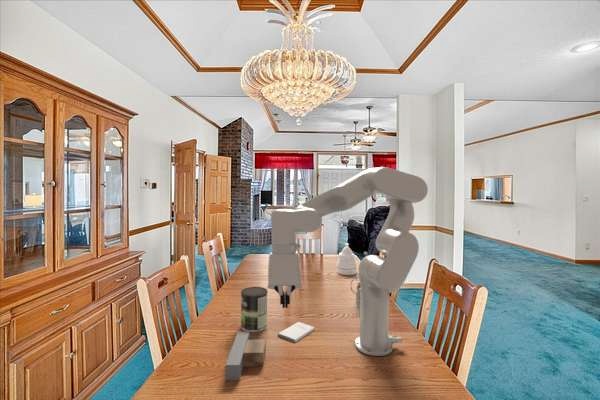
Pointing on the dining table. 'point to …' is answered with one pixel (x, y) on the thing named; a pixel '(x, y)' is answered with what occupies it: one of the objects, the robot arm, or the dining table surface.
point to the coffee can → (254, 309)
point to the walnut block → (254, 352)
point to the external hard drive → (296, 331)
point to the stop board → (236, 357)
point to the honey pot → (346, 262)
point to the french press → (358, 289)
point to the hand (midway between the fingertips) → (285, 306)
